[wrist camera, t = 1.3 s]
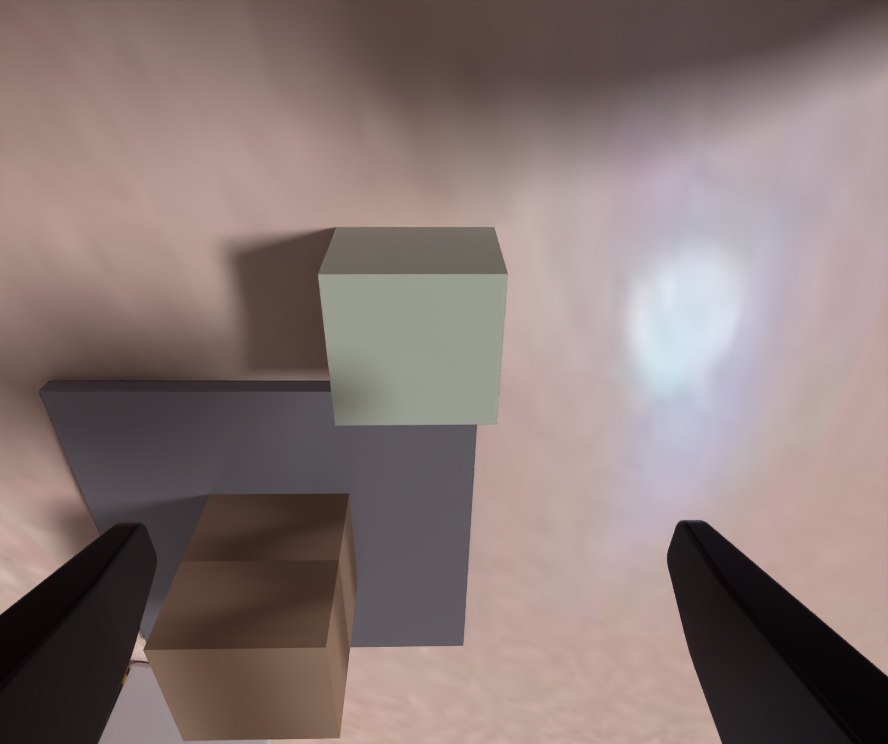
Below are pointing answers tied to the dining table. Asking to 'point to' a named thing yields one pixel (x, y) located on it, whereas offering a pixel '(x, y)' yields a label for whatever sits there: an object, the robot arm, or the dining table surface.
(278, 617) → the tower top
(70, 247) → the dining table surface
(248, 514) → the tower base
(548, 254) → the dining table surface
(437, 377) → the sage block
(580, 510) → the dining table surface
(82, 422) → the plate
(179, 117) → the dining table surface
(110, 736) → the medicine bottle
